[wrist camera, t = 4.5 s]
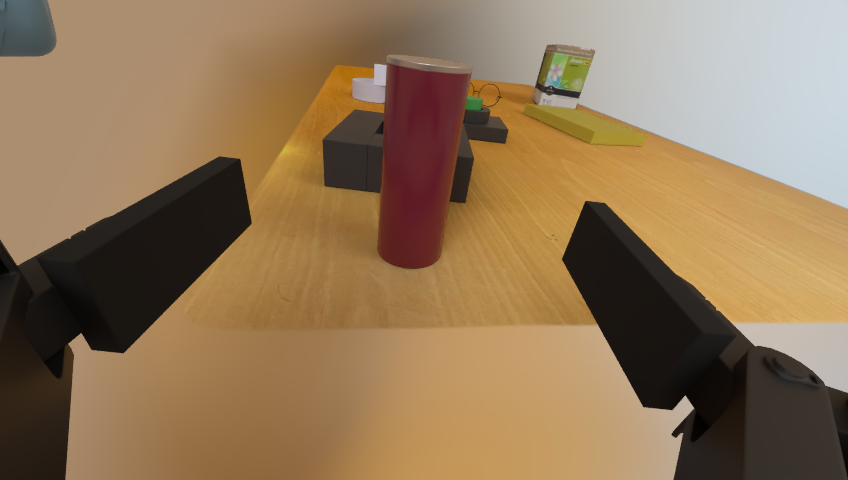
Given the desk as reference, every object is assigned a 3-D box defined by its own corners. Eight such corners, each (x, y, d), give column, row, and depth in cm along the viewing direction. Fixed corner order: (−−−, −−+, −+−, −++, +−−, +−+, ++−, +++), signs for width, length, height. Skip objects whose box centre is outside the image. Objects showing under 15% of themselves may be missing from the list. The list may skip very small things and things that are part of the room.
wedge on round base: (410, 98, 78) (353, 92, 76) (413, 66, 75) (354, 59, 73) (413, 106, 71) (351, 100, 69) (417, 71, 67) (351, 63, 65)
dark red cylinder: (372, 264, 22) (381, 57, 16) (382, 230, 26) (392, 53, 20) (440, 272, 23) (476, 70, 16) (440, 236, 26) (468, 63, 20)
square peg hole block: (324, 186, 32) (322, 139, 30) (354, 145, 44) (354, 109, 41) (465, 203, 32) (474, 157, 30) (457, 158, 44) (463, 123, 42)
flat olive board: (642, 146, 63) (566, 116, 83) (647, 134, 62) (569, 106, 82) (590, 143, 60) (523, 113, 79) (594, 131, 59) (525, 103, 78)
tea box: (575, 113, 88) (597, 49, 81) (537, 107, 89) (555, 43, 82) (564, 104, 101) (582, 48, 93) (531, 99, 102) (545, 43, 94)
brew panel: (430, 134, 53) (433, 107, 51) (431, 121, 61) (434, 97, 58) (505, 143, 53) (511, 117, 51) (496, 129, 61) (501, 106, 59)
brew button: (459, 110, 53) (461, 98, 52) (458, 105, 56) (460, 94, 56) (481, 112, 54) (484, 101, 53) (479, 108, 57) (481, 97, 56)
